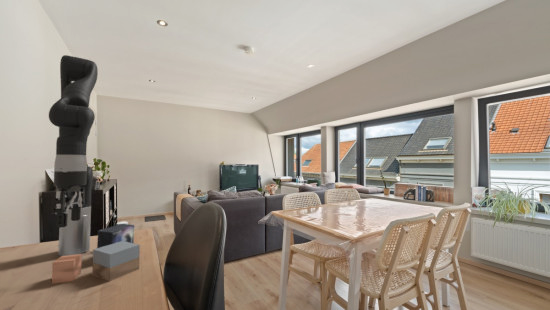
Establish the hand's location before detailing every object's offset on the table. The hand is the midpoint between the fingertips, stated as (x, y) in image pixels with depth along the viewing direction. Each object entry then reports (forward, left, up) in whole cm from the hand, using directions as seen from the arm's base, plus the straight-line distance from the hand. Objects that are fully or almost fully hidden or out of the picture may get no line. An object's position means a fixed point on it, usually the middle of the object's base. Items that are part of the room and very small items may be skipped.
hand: (69, 223), depth 71 cm
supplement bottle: (-13, +24, -16) cm, 32 cm away
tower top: (+9, +9, -13) cm, 18 cm away
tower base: (+9, +9, -17) cm, 21 cm away
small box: (-5, +17, -17) cm, 24 cm away
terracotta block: (0, 0, -16) cm, 16 cm away
